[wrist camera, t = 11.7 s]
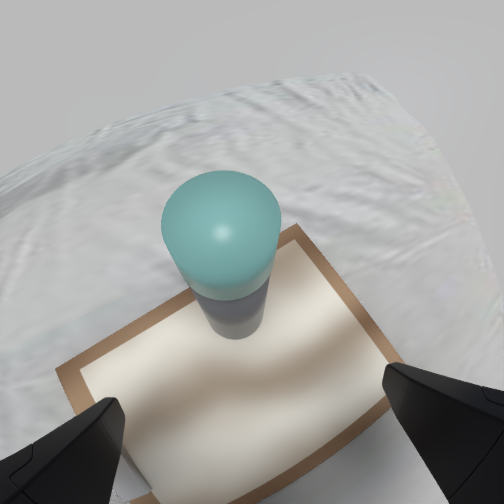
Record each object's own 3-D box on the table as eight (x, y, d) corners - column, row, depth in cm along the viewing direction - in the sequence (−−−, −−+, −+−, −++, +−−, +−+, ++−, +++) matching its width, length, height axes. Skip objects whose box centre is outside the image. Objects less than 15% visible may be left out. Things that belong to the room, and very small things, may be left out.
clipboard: (414, 381, 18) (426, 380, 16) (165, 540, 13) (159, 550, 11) (295, 225, 22) (299, 214, 21) (57, 369, 17) (45, 366, 16)
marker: (275, 320, 19) (305, 232, 9) (226, 351, 18) (197, 298, 8) (243, 275, 20) (239, 155, 10) (196, 304, 19) (143, 204, 9)
